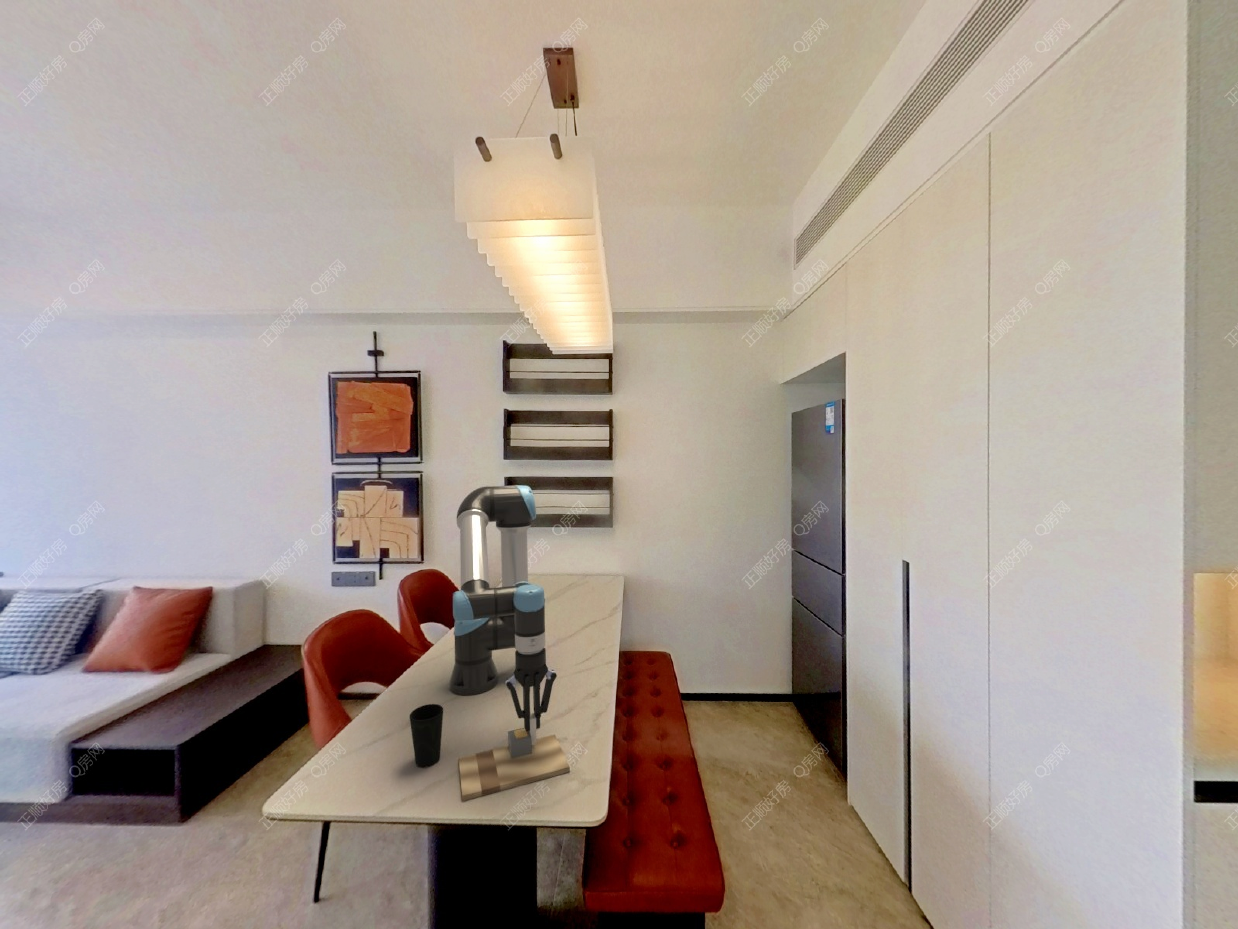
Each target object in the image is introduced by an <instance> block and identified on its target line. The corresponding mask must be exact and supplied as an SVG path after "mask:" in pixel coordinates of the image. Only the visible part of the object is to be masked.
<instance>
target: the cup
mask: <svg viewBox="0 0 1238 929" xmlns="http://www.w3.org/2000/svg"><path fill="white" fill-rule="evenodd" d="M443 720H444V707H443V706H442V705H440V704H436V703H432V704H431V703H429V704H424V705H420V706H418V707H417V708H415V709H414V710H412V711H411V712H410V714H409V722H410V729H411V737H412V746H413V753H414V762H415V766H417V767H418V768H423V769H424V768H429V767H432V766H434V765H436V764H438V762H439V761H440V760H441V748H442V747H441V746H442V733H443Z"/></svg>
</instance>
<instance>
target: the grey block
mask: <svg viewBox="0 0 1238 929" xmlns="http://www.w3.org/2000/svg"><path fill="white" fill-rule="evenodd" d="M507 746H508V748H509V752H510V756H511V759H512V758H516V757H520V756H524V755H528V754H532V737H531V735H530V732H529V731H526V730H525V728H524V727H521V728H516V729H511V730H508V731H507Z"/></svg>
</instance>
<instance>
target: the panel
mask: <svg viewBox="0 0 1238 929" xmlns="http://www.w3.org/2000/svg"><path fill="white" fill-rule="evenodd" d="M458 767H459V780H460V789H461V790H460V791H461V799H462V802H465V801H469V800H471V799H475V798H479V797H483V796H486V795H489V794H494V793H497V792H501V791H505V790H508V789H513V788H515V787H516V788H517V787H519V786H522V785H526V784H531V783H534V782H537V781H541V780H544V779H548V778H553V777H555V776H559V775H563V774H567V773H570V772H571V771H570V770H571V766H570V765H569V762H568V760H567V758H566V756H565V753H564V751H563V749H562V747H561V744H560V742H559V741H558V738H557V736H556V734H555V733H554V734H551V735H547V736H543V737H538V738H537V744H534V745H532V754H528V755H524V756H520V757H516V758H512V759H511V756H510V752H509V748H508V745H505V746H501V747H498V748H494V749H489V750H484V751H480V752H476V753H472V754H468V755H464V756H460V757H458Z"/></svg>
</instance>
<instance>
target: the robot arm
mask: <svg viewBox="0 0 1238 929" xmlns="http://www.w3.org/2000/svg"><path fill="white" fill-rule="evenodd" d="M535 519H537V508H536V502H535V498H534V493H533V490H532V488H531V487H530V486H529V485H519V484H518V485H517V484H514V485H513V484H512V485H497V486H493V485H491V486H489V485H486V486H481V487H479V488H475V489H474V490H473V491H471V492H470V493H468V495H467V496H465V498H463V500H462V501H461V503H460V505H459V507H458V509H457V512H456V525H457V528H458V529H459V530H460V531H459V534H460V535H459V540H460V542H459V543H460V546H459V547H460V549H459V550H460V551H459V552H460V553H459V554H460V555H459V556H460V558H459V559H460V561H459V562H460V590H457V591H455V592H453V593H452V616H453V619H454V628H453V629H454V631H453V636H454V666H453V669H452V673H451V675H450V678H449V690H450V691H451V692H452V693H453V694H456V695H459V696H473V695H474V696H475V695H478V694H483V693H485V692H488V691H490V690H491V689H493V688H494V687H496V685H497V684H498V683H499V673H498V670H497V667H496V665H495V662H494V660H493V651H500V650H507V649H515V652H514V656H515V657H514V659H515V660H514V661H515V663H514V664H515V669H514V670H513V675H512V676H510V678H505V680H504V683H505V685H506V687H507V689H508V690H509V692H510V695H511V698H512V702H513V706H514V709H515V712H516V716H517V718H518V719H523V728H525V730H526V731H529V732H530V735H531V737H532V745H534V744H537V739H538V738H537V729H540V728H541V717H542V714H544V713H545V714H546V713H547V712H548V709H549V705H550V701H551V700H550V699H551V694H552V691H553V690H552V689H553V685H554V682H555V680H556V678H557V677H558V676H557V673H556V671H555V670H554V669H549V668H548V667H549V666H548V665H547V655H546V654H547V653H546V651H547V650H546V648H545V647H546V625H545V624H546V623H545V621H546V620H545V619H546V617H545V616H546V614H545V609H546V606H545V603H546V598H545V589H544V588H543V587H542V585H538V584H532V583H530V582H529V568H528V566H529V565H528V530H529V528H530V527H531V526H532V521H534V520H535ZM493 522H495V527H496V529H497V530H499V531H500V552H501V553H500V554H501V555H500V556H501V558H500V559H501V586H499V587H491V586H490V575H489V571H490V570H489V555H488V543H487V541H488V540H487V539H488V538H487V526H488V524H489V523H493ZM545 677H546V679H545V683H544V687H543V692H542V697H541V683H542V682H543V680H544V678H545ZM516 681H517V682H518V683H519V684H520V685H521V687H522V697H523V698H522V700H523V701H522V703H523V705H522V706H523V708H522V707H521V704H520V701H519V697H518V693H517V690H516V685H517V683H516ZM531 687H532V696H533V697H532V699H533V704H532V705H533V706H532V707H533V712H531V697H530V696H531V695H530V694H531Z"/></svg>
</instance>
